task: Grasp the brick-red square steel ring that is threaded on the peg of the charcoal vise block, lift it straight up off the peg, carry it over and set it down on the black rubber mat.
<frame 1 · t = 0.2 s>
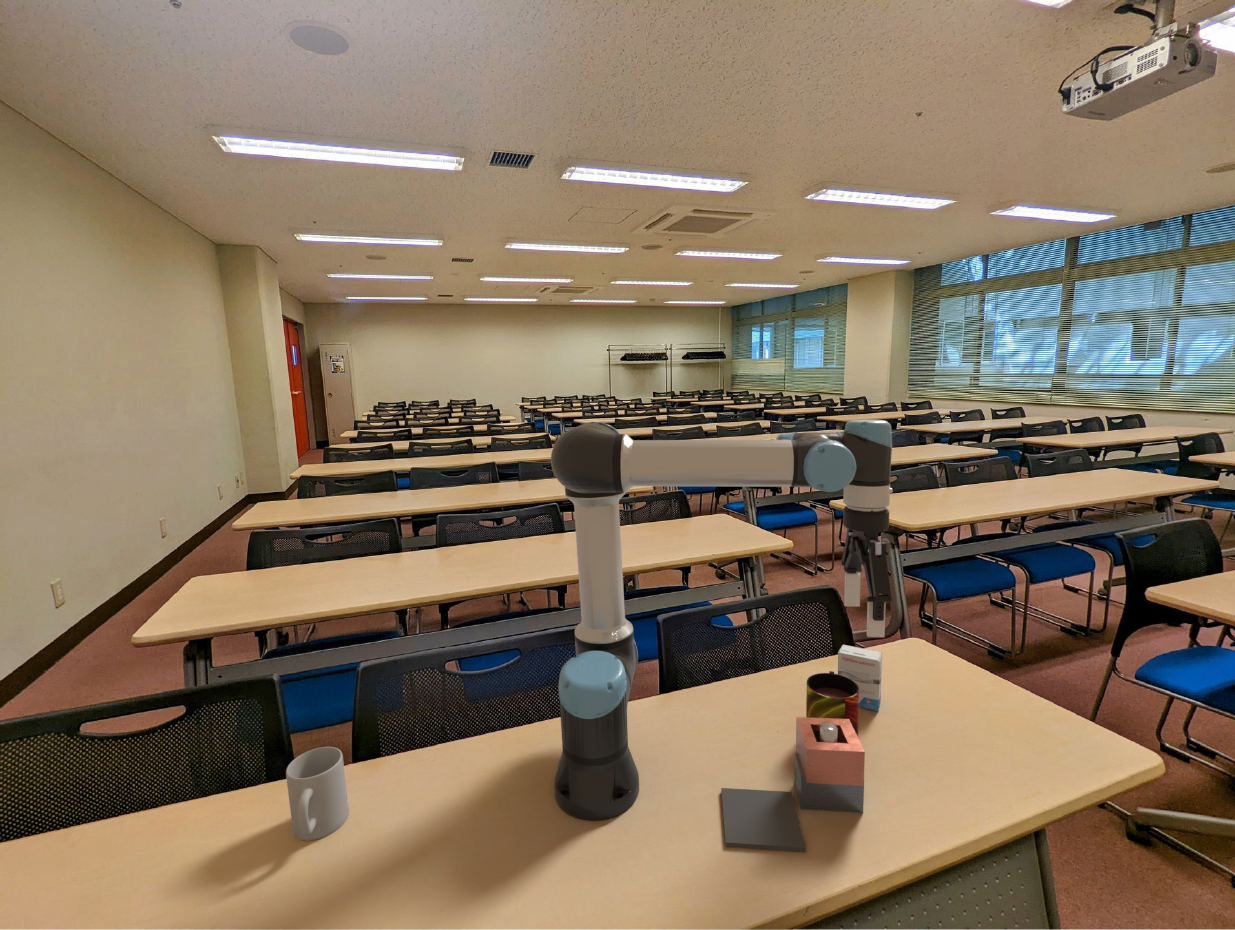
hand: (862, 620, 104), 27 cm above the table, fingers open, 13 cm apart
mug 2: (318, 830, 94), on the table
ring: (828, 766, 96), point 6 cm above the table, touching vise block
ink box: (859, 702, 126), on the table
vise block: (827, 798, 97), on the table
mug: (826, 736, 114), on the table
mat: (760, 820, 93), on the table
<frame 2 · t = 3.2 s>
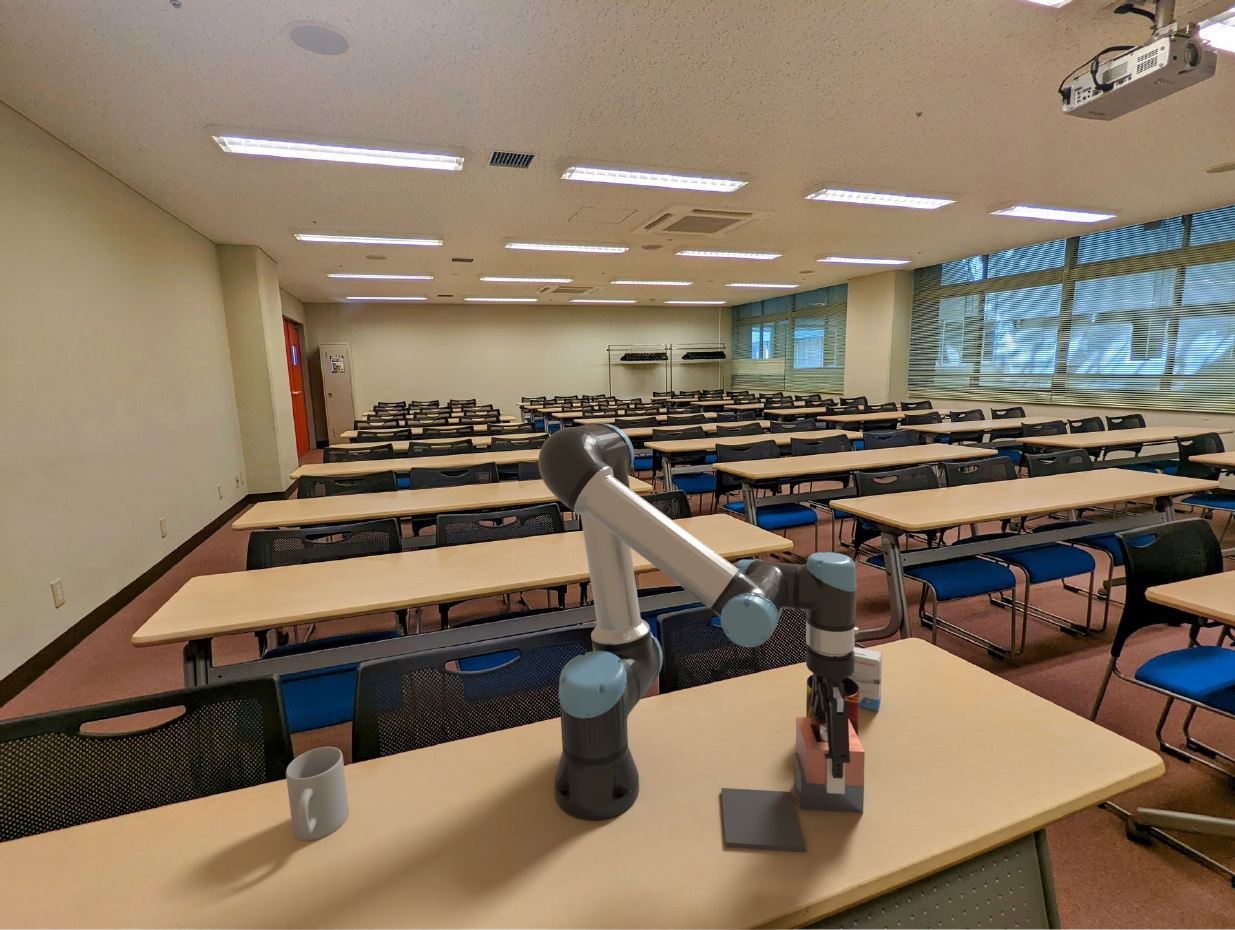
hand: (827, 771, 96), 5 cm above the table, fingers closed on ring, 9 cm apart
ring: (828, 766, 96), point 6 cm above the table, touching gripper, vise block
everything else where it was.
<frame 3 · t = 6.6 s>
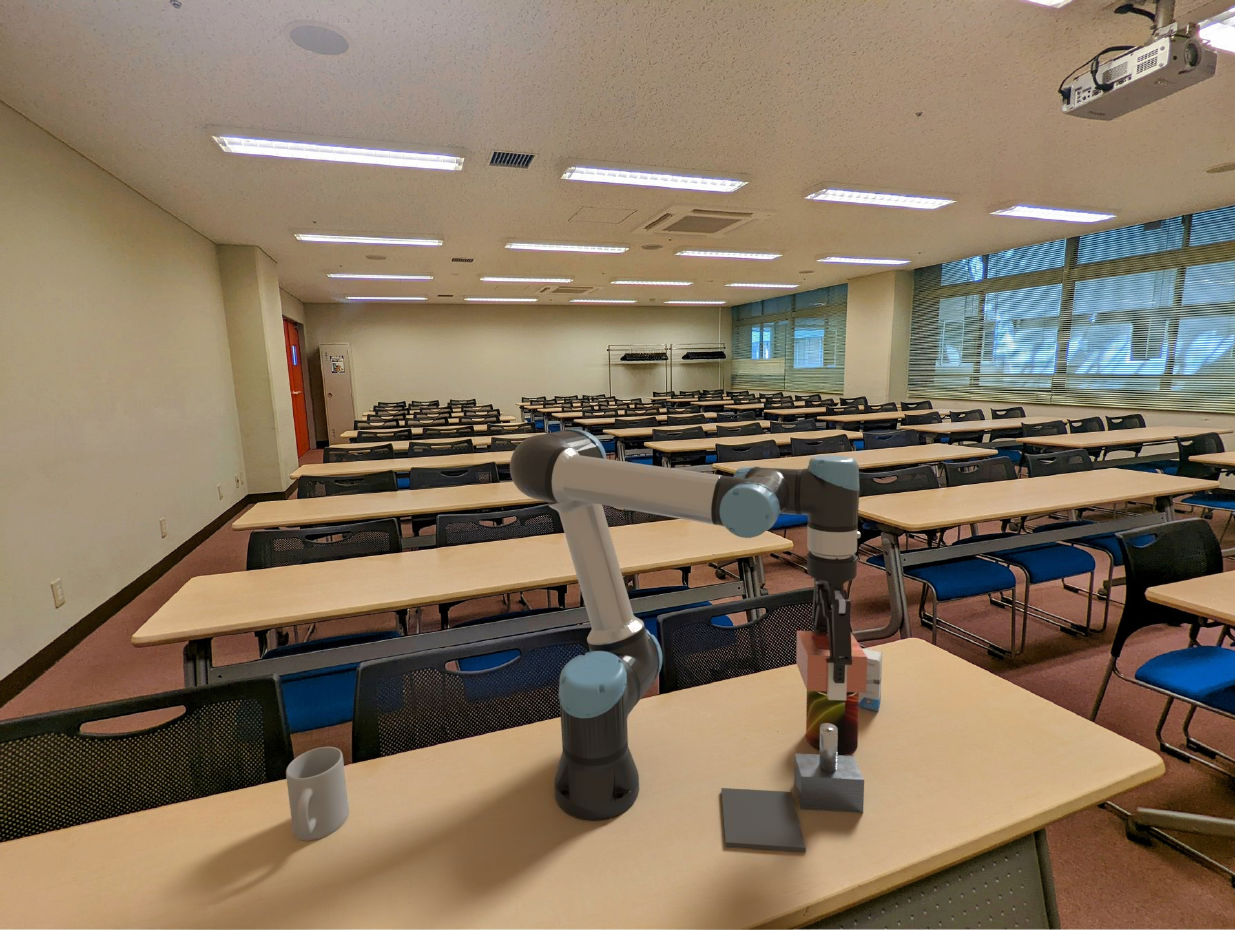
hand: (829, 682, 94), 21 cm above the table, fingers closed on ring, 9 cm apart
ring: (829, 677, 94), point 22 cm above the table, touching gripper
everything else where it was.
when the fingers open (2 cm above the table, at t = 10.3 s): ring drops 3 cm, resting on mat.
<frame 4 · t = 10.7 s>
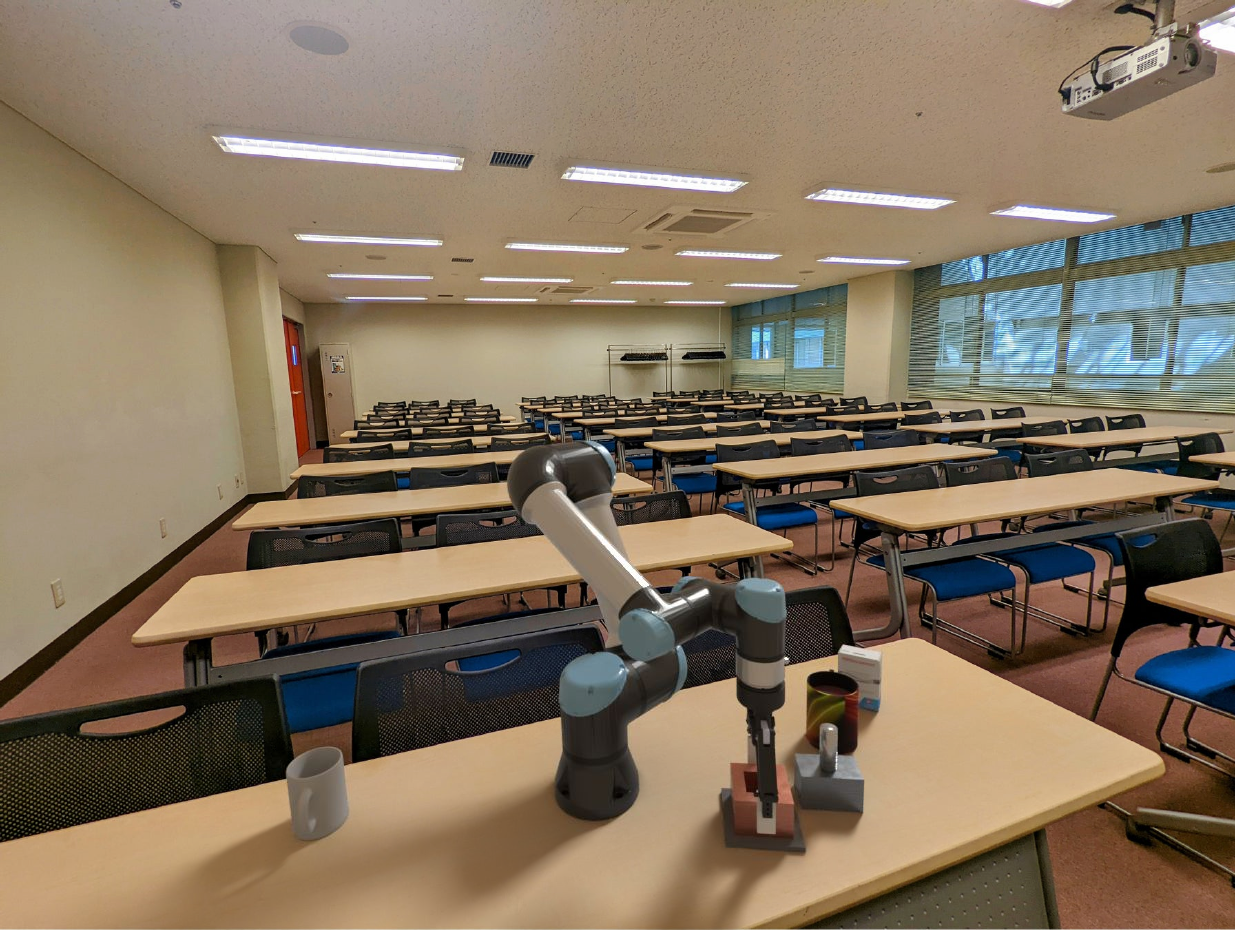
hand: (760, 799, 92), 4 cm above the table, fingers open, 13 cm apart
ring: (760, 815, 93), point 1 cm above the table, touching mat
everything else where it was.
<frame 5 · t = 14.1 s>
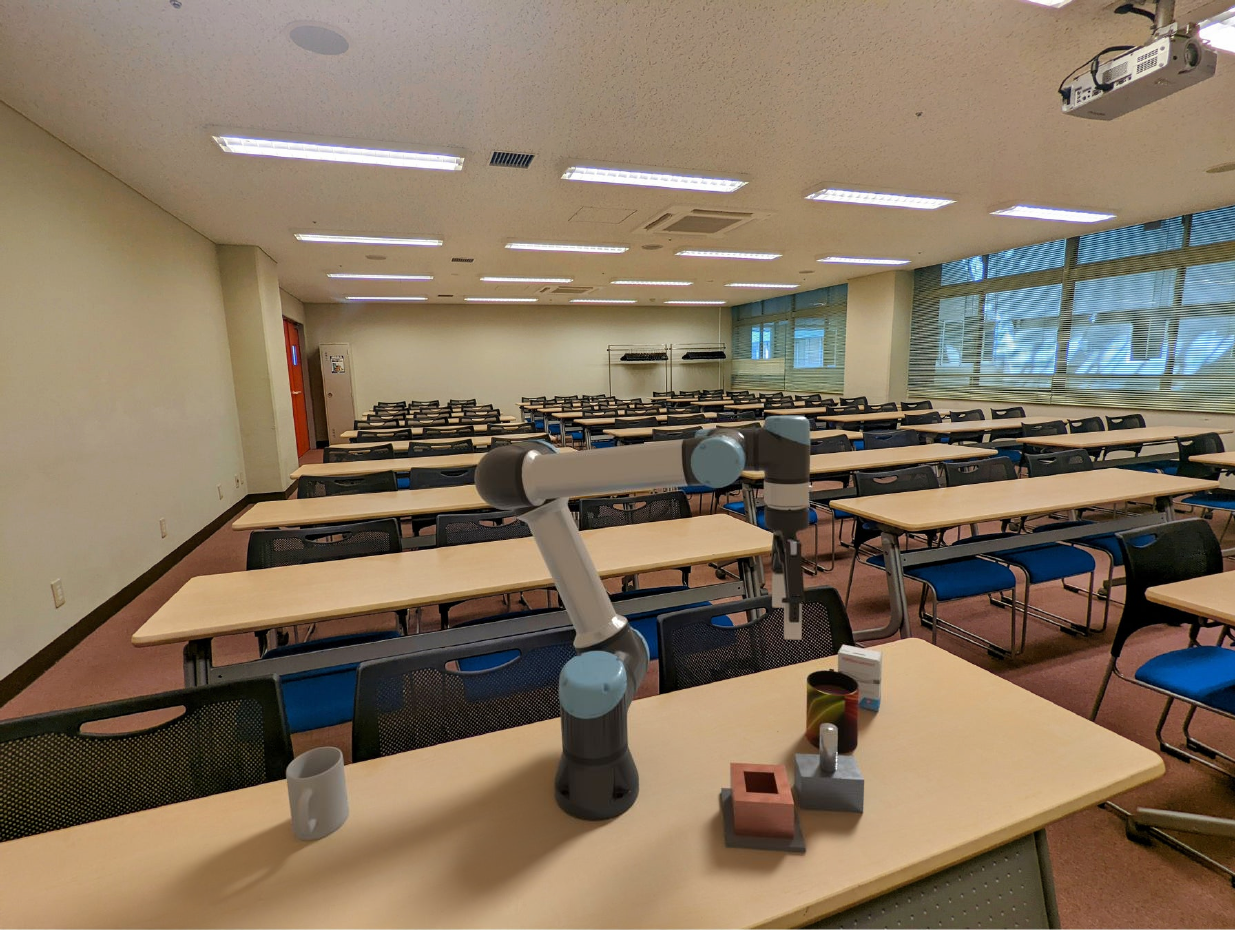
hand: (785, 621, 101), 29 cm above the table, fingers open, 13 cm apart
at the end: ring inside the target area on the mat (0.0 cm from its centre), point 0.8 cm above the mat's base; ring touching mat; the gripper is holding nothing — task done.
